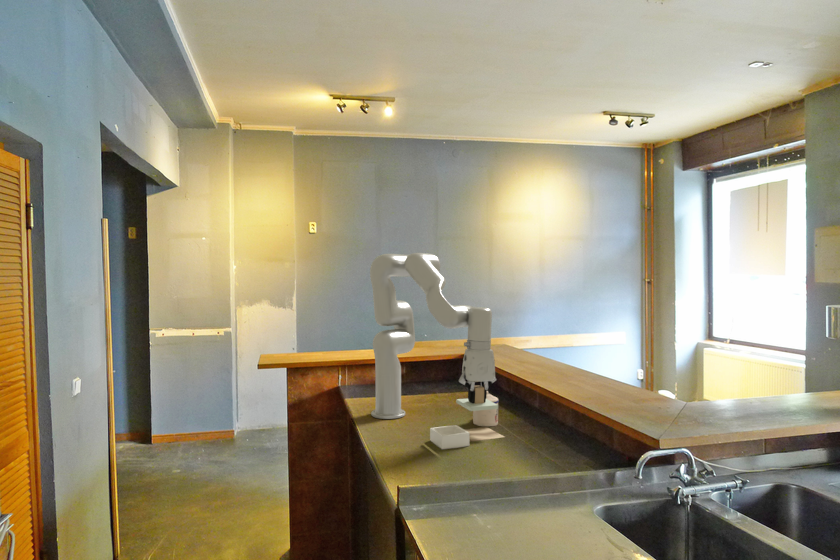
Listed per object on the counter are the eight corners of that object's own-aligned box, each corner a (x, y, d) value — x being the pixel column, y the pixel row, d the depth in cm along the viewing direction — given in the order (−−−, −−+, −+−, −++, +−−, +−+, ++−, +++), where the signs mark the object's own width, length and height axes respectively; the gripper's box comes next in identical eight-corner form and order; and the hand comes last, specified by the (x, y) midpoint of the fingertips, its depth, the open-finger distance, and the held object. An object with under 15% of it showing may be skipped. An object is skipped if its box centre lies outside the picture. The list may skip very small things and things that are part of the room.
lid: (456, 402, 170) (456, 384, 170) (483, 400, 173) (483, 382, 173) (470, 411, 160) (470, 391, 160) (498, 408, 164) (498, 389, 164)
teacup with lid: (501, 428, 175) (501, 393, 175) (475, 428, 174) (475, 394, 174) (493, 418, 187) (493, 386, 187) (468, 419, 186) (468, 386, 186)
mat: (454, 432, 170) (454, 430, 170) (486, 428, 174) (486, 426, 174) (471, 443, 159) (471, 441, 159) (505, 438, 163) (505, 437, 163)
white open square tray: (430, 442, 159) (430, 428, 159) (456, 439, 163) (456, 424, 163) (442, 451, 151) (442, 436, 151) (469, 447, 154) (469, 432, 154)
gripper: (461, 348, 160) (459, 406, 160) (507, 346, 166) (505, 403, 166) (451, 344, 167) (449, 400, 167) (495, 343, 173) (493, 397, 173)
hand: (477, 401), depth 167 cm, fingers closed on lid, 3 cm apart
